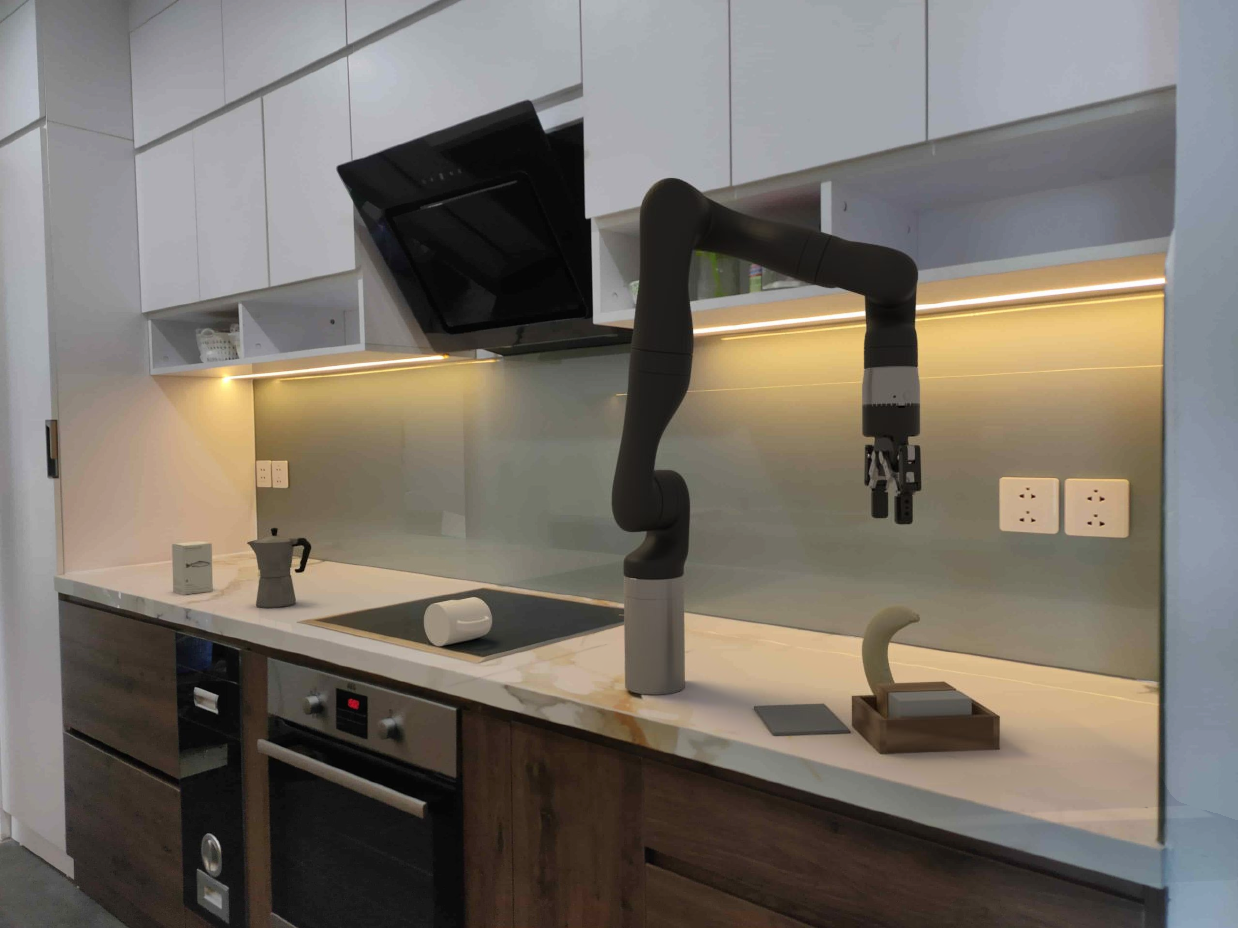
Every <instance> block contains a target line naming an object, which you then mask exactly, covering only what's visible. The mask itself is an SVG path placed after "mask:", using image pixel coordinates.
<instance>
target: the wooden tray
mask: <svg viewBox="0 0 1238 928" xmlns="http://www.w3.org/2000/svg"><path fill="white" fill-rule="evenodd" d="M962 693H963V694H965V693H964V692H962ZM967 696H968V695H967ZM968 697H970V696H968ZM970 698H971V697H970ZM971 699H972V715H958V716H930V717H902V718H883V717H882V716H881V715H880V714H879V713H877V695H873V694H865V695H864V694H863V695H861V694H860V695H851V726H852V728H853V729H855V731H856V732H857V733H858V734H859V735H860V736H861V737H863V739H865V740H866V742H867V743H868V744H870V745H871V746H872V747H873V749H875V750H876V751H877V752H878V753H879V755H880V754H882V755H883V754H902V753H903V754H904V753H908V754H909V753H929V752H930V753H932V752H934V753H935V752H958V751H960V752H961V751H981V750H982V751H983V750H986V751H987V750H1000V748H1001V743H1000V742H1001V741H1000V739H1001V738H1000V737H1001V732H1000V731H1001V729H1000V726H1001V722H1000V721H1001V719H1000V718H1001V716H1000V715H998V714H997V713H996V712H994V711H992V710H991V709H989V708H988V707H986V706H984V705H983V704H981V703H980V702H978V701H977V700H975V699H973V698H971Z"/></svg>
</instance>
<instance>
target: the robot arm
mask: <svg viewBox="0 0 1238 928" xmlns="http://www.w3.org/2000/svg"><path fill="white" fill-rule="evenodd" d="M639 209H640V210H639V277H638V286H637V287H638V289H637V292H636V293H637V295H636V301H635V309H634V319H633V330H632V335H631V337H632V338H631V343H630V348H631V349H630V353H629V364H628V379H627V391H626V392H627V394H626V401H625V402H626V403H625V411H624V418H623V419H624V420H623V425H622V427H623V428H622V434H621V439H620V446H619V450H618V455H617V456H618V457H617V461H616V467H615V470H614V476H613V482H612V486H611V487H612V490H611V511H612V515H613V519H614V521H615V523H616V525H617V526H618V527H619V528H620V529H621V530H622V531H623V532H624V531H625V532H628V533H641V532H642V533H643V532H646V533H645V538H644V540H643V541H642V543H641V544H640V545H639V546H638V547H637V548H636V549H635V550H633V551H631V552H630V553H628V554H627V555H626V556H625V558H624V560H623V564H622V565H623V568H622V569H623V610H624V611H623V614H624V615H623V620H624V622H623V623H624V624H623V625H624V626H623V630H624V634H623V635H624V637H623V638H624V687H625V689H626V690H627V691H629V692H631V693H636V694H641V695H656V696H657V695H668V694H669V695H670V694H675V693H677V692H680V691H682V690H683V689H685V688H686V667H685V666H686V650H685V649H686V648H685V647H686V645H685V644H686V643H685V642H686V641H685V640H686V639H685V632H686V631H685V572H684V571H685V564H686V561H687V558H688V554H689V549H690V524H691V521H690V520H691V497H690V491H689V488H688V485H687V483H686V481H685V478H684V477H683V476H682V475H681V474H680V473H679V472H677V471H675V470H672V469H655V466H656V458H657V455H658V454H657V453H658V449H659V445H660V442H661V439H662V437H663V434H664V433H665V430H666V429H667V427H668V425H669V424H670V422H671V420H672V419H673V417H674V416H675V414H676V412H677V411H678V409H679V408H680V406H681V404H682V402H684V399H685V397H686V396H687V393H688V390H689V387H690V385H691V384H690V383H691V376H692V369H693V358H694V355H693V354H694V347H695V346H694V343H695V342H694V341H695V340H694V339H695V338H694V322H693V314H692V307H691V298H690V290H689V289H690V287H689V285H690V284H689V283H690V270H691V265H692V264H691V262H692V257H693V251H697V252H705V253H712V254H713V253H714V254H719V255H723V256H727V257H731V258H735V259H739V260H742V261H746V262H749V263H751V264H754V265H756V266H760V267H762V268H765V269H767V270H770V271H772V272H774V273H777V274H781V275H783V276H786V277H789V278H792V279H795V280H799V281H801V282H804V283H807V284H810V285H814V286H817V287H822V288H825V289H842V290H845V291H848V292H850V293H854V294H857V295H861V296H864V311H865V312H864V313H865V334H864V340H863V375H862V376H863V377H862V384H861V386H862V387H861V411H862V412H861V413H862V414H861V420H862V422H861V423H862V424H861V425H862V426H861V432H862V436H863V437H865V438H874V442H873V443H872V444H865V446H864V470H863V471H864V473H863V474H864V476H863V478H864V480H863V483H864V486H865V487H868V490H869V492H870V493H871V494H870V495H871V496H870V499H871V500H870V509H871V513H870V514H871V517H872V518H873V519H887V518H888V517H889V492H888V490H889V488H890V485H892V489H893V493H894V495H895V496H894V500H893V501H894V502H893V503H894V512H893V513H894V519H893V520H894V523H895V524H897V525H900V526H901V525H911V524H913V521H914V519H913V517H914V513H913V512H914V509H913V508H914V507H913V504H914V497H913V496H915V495H916V492H921V491H922V460H921V459H922V457H921V447H920V445H919V444H909V442H910V441H909V437H915V438H916V437H918V436H919V435H920V434H921V385H920V384H921V382H920V375H919V346H918V345H919V343H918V341H919V340H918V334H917V333H918V332H917V330H916V315H917V314H916V312H917V310H916V309H917V289H918V280H919V269H918V267H917V264H916V262H915V261H914V259H913V258H912V257H910V255H908V254H907V253H905V252H903V251H901V250H898V249H895V248H892V247H889V246H884V245H879V244H874V243H867V242H861V241H856V240H855V241H854V240H853V241H852V240H848V239H844V238H841V237H839V236H836V235H833V234H829V233H826V232H823V231H820V230H816V229H812V228H809V227H805V226H802V225H798V224H794V223H793V224H792V223H788V222H787V223H786V222H783V221H778V220H777V221H776V220H770V219H764V218H762V217H761V218H760V217H756V216H751V215H749V214H748V215H747V214H745V213H742V212H740V211H737V210H733V209H732V208H729V207H727V206H726V205H725V206H724V205H723V204H721V203H719V202H717V201H715V200H713V199H712V198H709V197H707V196H705V195H704V193H703V192H702V191H701V190H700V189H698V188H696V187H695V186H693V185H692V184H690V183H688V182H687V181H685V180H683V179H680V178H676V177H666V178H663V179H660V180H658V181H656V182H655V183H654V184H652V186H651V187H649V189H648V190H647V192H646V193H645V195H644V197H643V199H642V201H641V205H640V208H639Z"/></svg>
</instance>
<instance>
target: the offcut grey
mask: <svg viewBox="0 0 1238 928" xmlns="http://www.w3.org/2000/svg"><path fill="white" fill-rule="evenodd" d="M963 693H964V692H963V691H960V690H958V689H957V690H952V691H923V692H894V693H888V695H889V718H902V717H930V716H958V715H972V699H973V698H972V699H971V697H970V696H969V697H968V695H967V694H965V693H964V694H963Z"/></svg>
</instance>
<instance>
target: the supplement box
mask: <svg viewBox="0 0 1238 928" xmlns="http://www.w3.org/2000/svg"><path fill="white" fill-rule="evenodd" d="M212 545H213V544H212V542H208V541H202V540H199V541H189V542H188V541H187V542H177V543H172V544H171V554H172V561H171V563H172V592H173V593H174V594H175V593H176V594H179V595H181V596H186V595H192V594H201V593H209V592H210V591H212V592H213V589H214V586H213V585H214V584H213V546H212Z"/></svg>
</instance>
